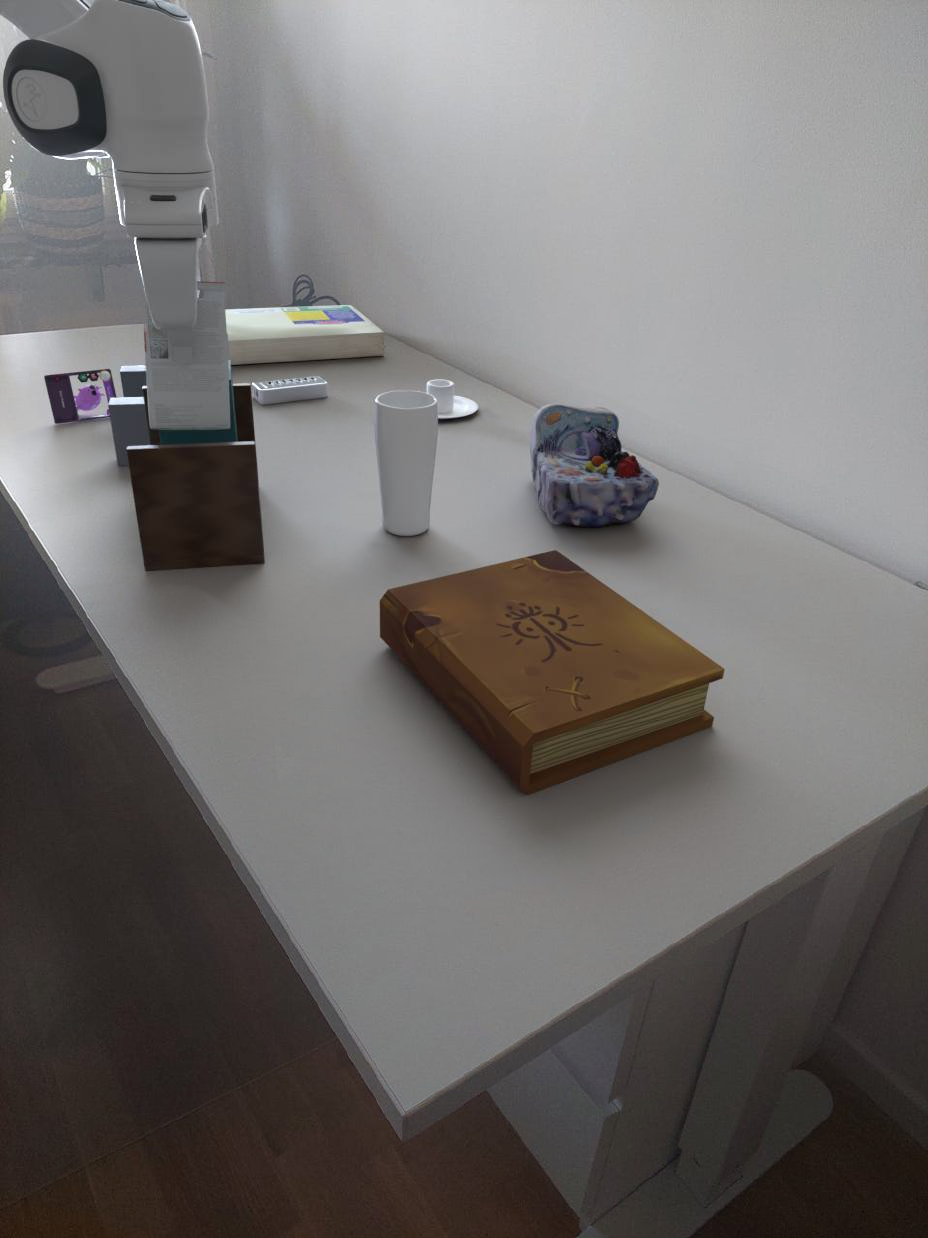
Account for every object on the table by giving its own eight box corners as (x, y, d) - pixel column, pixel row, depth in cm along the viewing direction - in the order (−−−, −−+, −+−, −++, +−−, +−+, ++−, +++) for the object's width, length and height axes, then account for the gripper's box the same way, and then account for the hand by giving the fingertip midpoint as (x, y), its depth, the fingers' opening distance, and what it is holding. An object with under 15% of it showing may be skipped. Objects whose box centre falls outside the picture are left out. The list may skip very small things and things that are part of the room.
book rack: (144, 571, 95) (126, 449, 89) (157, 492, 113) (142, 385, 106) (264, 563, 98) (255, 444, 91) (259, 487, 115) (250, 382, 109)
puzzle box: (169, 336, 178) (182, 368, 159) (166, 311, 176) (178, 341, 156) (354, 327, 189) (387, 357, 170) (354, 304, 187) (387, 331, 168)
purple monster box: (44, 374, 130) (111, 367, 134) (40, 378, 135) (105, 371, 139) (55, 423, 132) (121, 415, 136) (51, 425, 136) (115, 417, 140)
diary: (380, 647, 84) (379, 591, 81) (550, 602, 93) (555, 549, 90) (519, 798, 67) (524, 734, 64) (712, 726, 76) (725, 666, 73)
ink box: (148, 419, 97) (139, 271, 90) (227, 419, 99) (224, 275, 92) (149, 431, 94) (140, 278, 87) (231, 431, 96) (228, 282, 89)
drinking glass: (396, 546, 102) (396, 412, 95) (365, 524, 107) (362, 395, 99) (447, 532, 106) (451, 402, 98) (414, 511, 110) (415, 386, 103)
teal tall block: (170, 513, 105) (152, 381, 98) (173, 486, 112) (157, 361, 104) (242, 509, 107) (230, 379, 99) (241, 483, 114) (230, 359, 106)
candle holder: (384, 407, 144) (384, 379, 142) (443, 394, 151) (444, 367, 149) (434, 428, 137) (434, 399, 135) (493, 413, 144) (495, 385, 142)
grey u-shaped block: (117, 465, 120) (108, 404, 116) (130, 420, 135) (121, 365, 131) (174, 463, 121) (166, 402, 117) (180, 419, 136) (173, 364, 132)
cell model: (607, 390, 118) (676, 447, 102) (597, 469, 124) (661, 536, 108) (509, 393, 115) (564, 453, 99) (503, 475, 121) (554, 544, 105)
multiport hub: (328, 396, 148) (328, 382, 147) (261, 404, 143) (260, 390, 142) (318, 389, 151) (318, 375, 150) (252, 396, 147) (251, 382, 146)
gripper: (141, 190, 94) (158, 330, 101) (121, 218, 77) (144, 385, 84) (205, 191, 95) (218, 329, 102) (201, 219, 78) (217, 383, 85)
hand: (185, 355), depth 93 cm, fingers closed on ink box, 4 cm apart
